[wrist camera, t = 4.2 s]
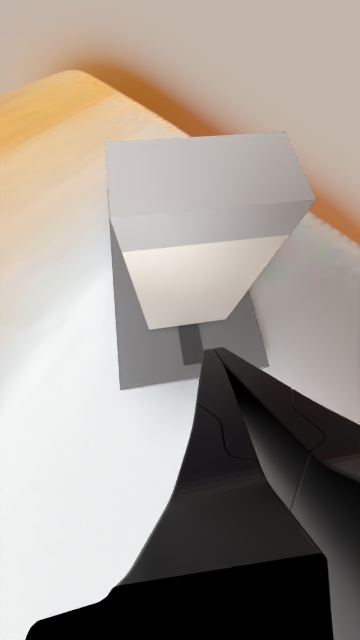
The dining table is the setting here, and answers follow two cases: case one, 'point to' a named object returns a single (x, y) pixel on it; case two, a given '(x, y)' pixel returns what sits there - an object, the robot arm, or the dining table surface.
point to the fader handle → (202, 218)
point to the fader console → (174, 336)
